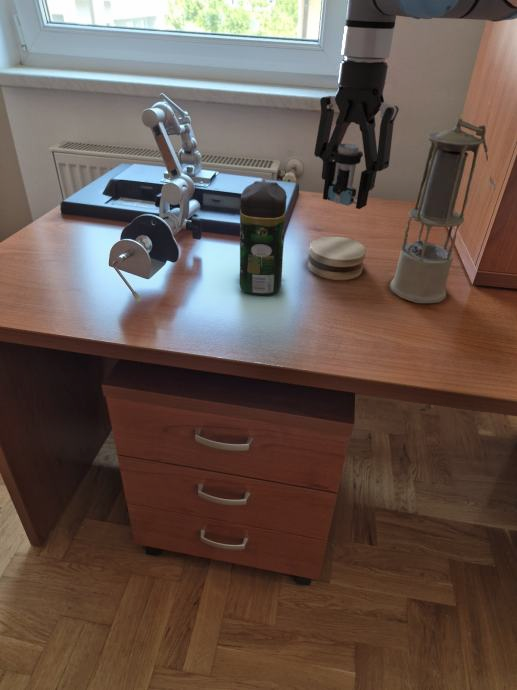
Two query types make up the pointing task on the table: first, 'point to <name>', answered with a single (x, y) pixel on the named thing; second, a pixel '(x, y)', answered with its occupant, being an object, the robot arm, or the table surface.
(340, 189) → the push button
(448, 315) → the table surface
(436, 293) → the lamp
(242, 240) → the coffee jar
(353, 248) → the wooden yo-yo
